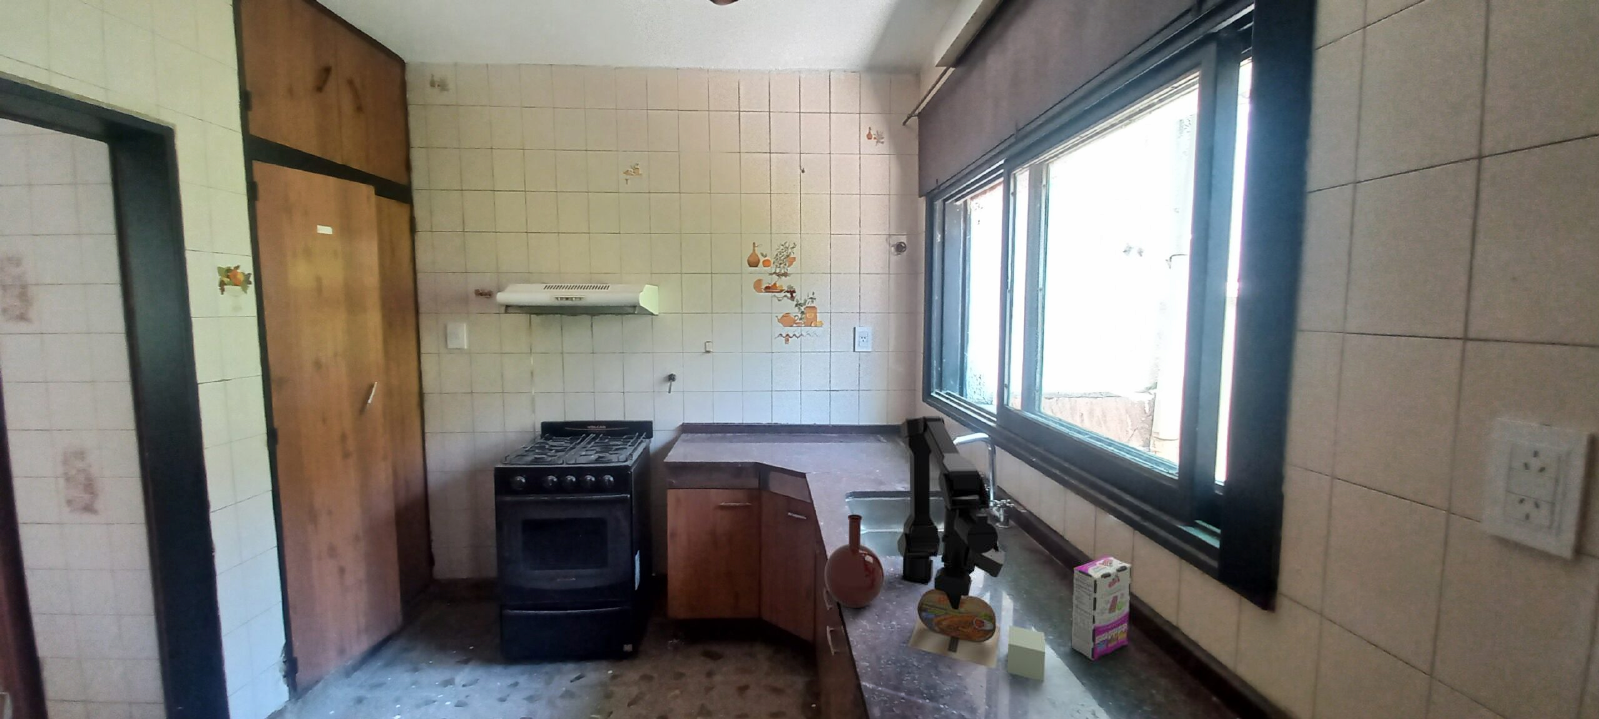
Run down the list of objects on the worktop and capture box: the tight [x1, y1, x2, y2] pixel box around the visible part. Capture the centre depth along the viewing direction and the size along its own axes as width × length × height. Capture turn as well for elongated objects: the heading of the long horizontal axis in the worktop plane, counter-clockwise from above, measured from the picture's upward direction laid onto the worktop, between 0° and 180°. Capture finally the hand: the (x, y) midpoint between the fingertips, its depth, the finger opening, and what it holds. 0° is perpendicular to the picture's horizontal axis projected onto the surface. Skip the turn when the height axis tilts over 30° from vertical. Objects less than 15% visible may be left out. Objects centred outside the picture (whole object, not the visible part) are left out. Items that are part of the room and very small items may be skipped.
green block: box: [1006, 625, 1046, 682], centre depth 97 cm, size 6×6×6 cm
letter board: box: [908, 617, 1001, 669], centre depth 106 cm, size 16×14×1 cm
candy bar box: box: [1070, 555, 1132, 661], centre depth 103 cm, size 11×5×16 cm, turn 117°
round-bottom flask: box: [824, 513, 885, 609], centre depth 118 cm, size 13×13×20 cm
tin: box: [916, 588, 997, 642], centre depth 106 cm, size 15×3×8 cm, turn 66°
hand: (956, 605), depth 106 cm, fingers closed on tin, 3 cm apart
